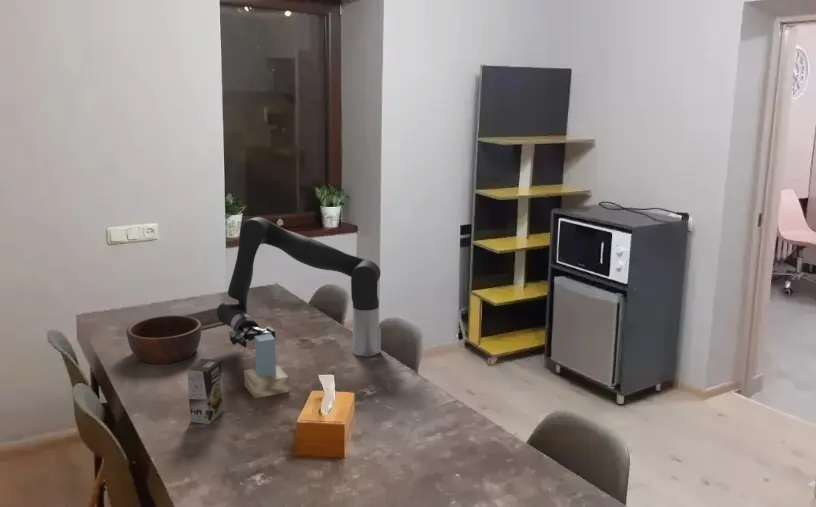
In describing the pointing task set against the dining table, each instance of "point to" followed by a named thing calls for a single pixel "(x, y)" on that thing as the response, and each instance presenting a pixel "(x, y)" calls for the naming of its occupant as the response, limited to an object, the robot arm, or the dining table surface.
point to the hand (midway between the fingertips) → (258, 342)
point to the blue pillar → (265, 355)
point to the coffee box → (205, 390)
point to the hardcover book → (206, 318)
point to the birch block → (266, 383)
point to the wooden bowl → (164, 338)
